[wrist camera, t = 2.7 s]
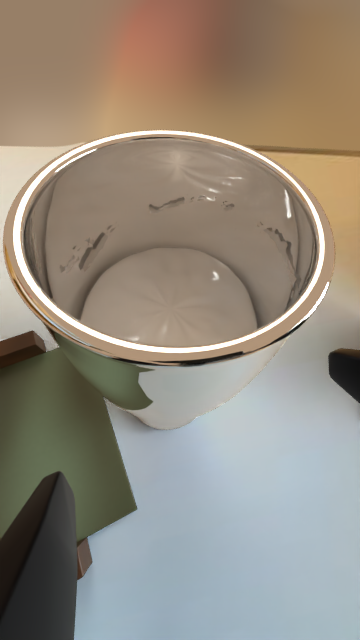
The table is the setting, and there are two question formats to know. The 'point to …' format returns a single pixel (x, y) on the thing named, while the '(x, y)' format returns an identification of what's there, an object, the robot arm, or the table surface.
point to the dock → (57, 439)
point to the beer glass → (168, 266)
